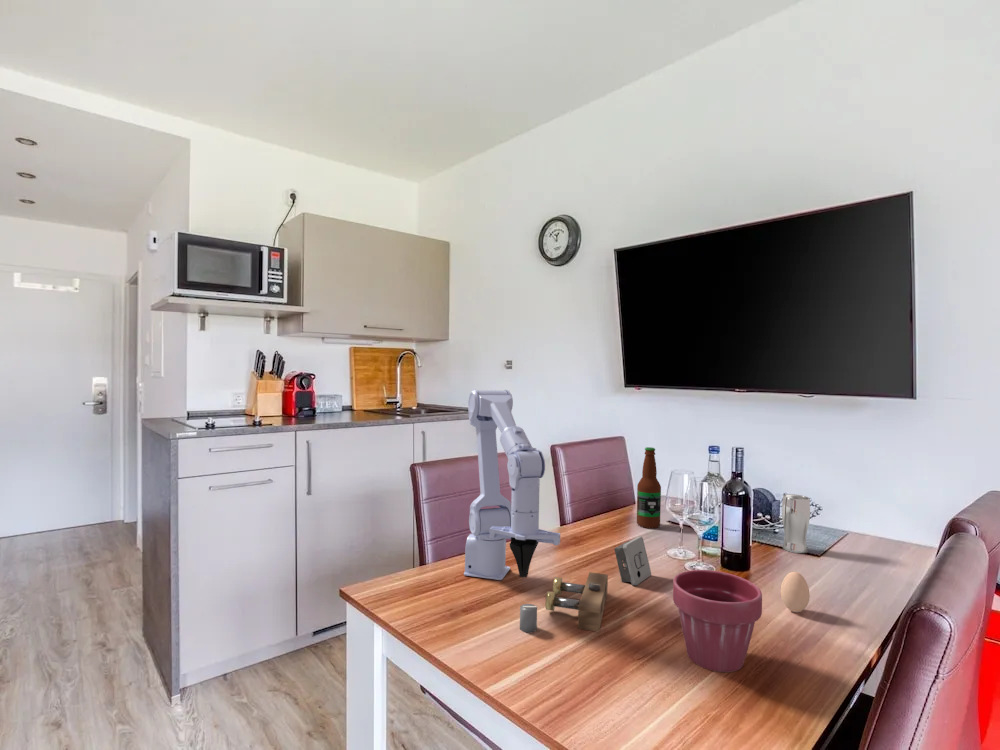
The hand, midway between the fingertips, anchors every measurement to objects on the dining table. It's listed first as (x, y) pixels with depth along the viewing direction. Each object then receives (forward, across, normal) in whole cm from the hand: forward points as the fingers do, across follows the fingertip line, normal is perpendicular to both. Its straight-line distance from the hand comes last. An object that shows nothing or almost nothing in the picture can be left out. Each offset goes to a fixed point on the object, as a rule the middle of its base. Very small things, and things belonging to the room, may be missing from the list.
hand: (523, 575), depth 110 cm
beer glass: (+7, +64, +61) cm, 89 cm away
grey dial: (+7, +3, -8) cm, 11 cm away
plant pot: (+7, +36, -8) cm, 37 cm away
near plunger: (+6, +9, 0) cm, 11 cm away
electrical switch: (+7, +21, +24) cm, 33 cm away
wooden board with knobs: (+7, +14, +4) cm, 16 cm away
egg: (+7, +54, +17) cm, 57 cm away
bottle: (+7, +24, +71) cm, 75 cm away
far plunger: (+6, +9, +8) cm, 14 cm away
